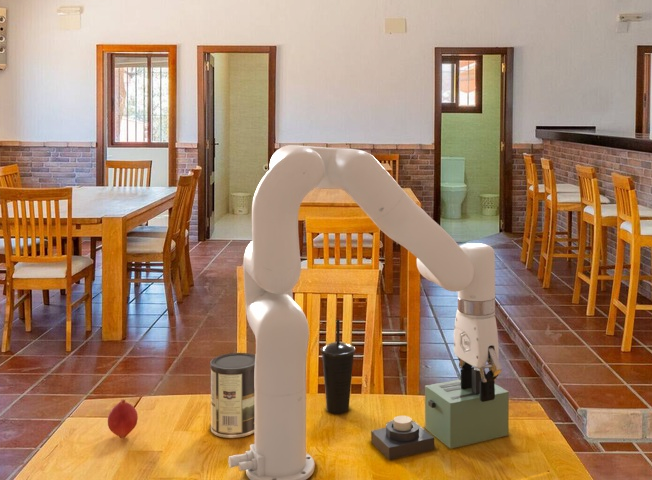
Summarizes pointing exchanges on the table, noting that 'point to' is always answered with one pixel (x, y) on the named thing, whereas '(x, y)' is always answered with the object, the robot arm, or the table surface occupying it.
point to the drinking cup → (337, 373)
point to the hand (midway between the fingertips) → (477, 393)
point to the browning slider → (476, 380)
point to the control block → (402, 441)
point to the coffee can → (232, 395)
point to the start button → (402, 423)
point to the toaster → (465, 414)
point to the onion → (122, 419)
